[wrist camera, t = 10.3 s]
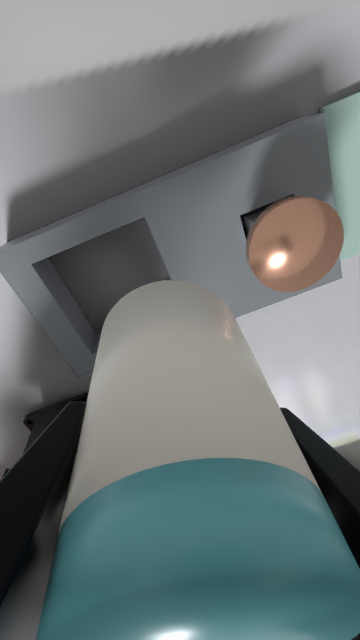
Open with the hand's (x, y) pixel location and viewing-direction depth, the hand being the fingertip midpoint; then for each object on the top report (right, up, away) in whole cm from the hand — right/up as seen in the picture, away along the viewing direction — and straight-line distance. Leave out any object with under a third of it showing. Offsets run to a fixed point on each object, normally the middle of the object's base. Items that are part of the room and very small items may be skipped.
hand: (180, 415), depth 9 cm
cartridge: (0, +2, +3) cm, 4 cm away
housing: (0, +7, +11) cm, 13 cm away
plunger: (+5, +9, +11) cm, 15 cm away
